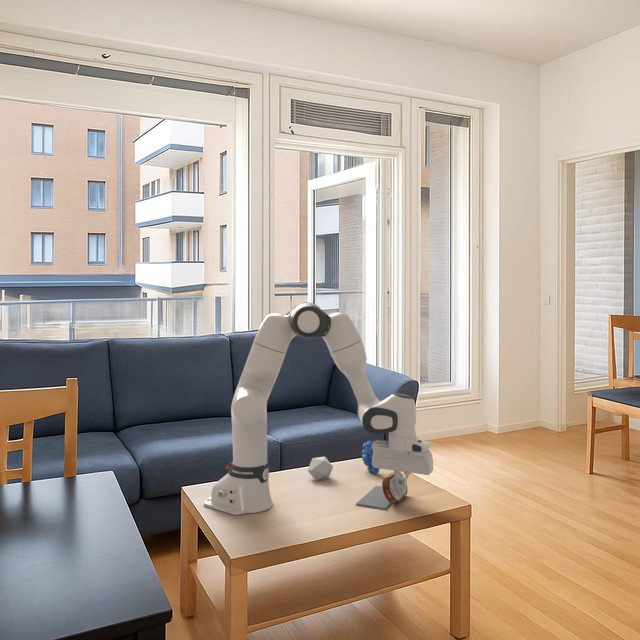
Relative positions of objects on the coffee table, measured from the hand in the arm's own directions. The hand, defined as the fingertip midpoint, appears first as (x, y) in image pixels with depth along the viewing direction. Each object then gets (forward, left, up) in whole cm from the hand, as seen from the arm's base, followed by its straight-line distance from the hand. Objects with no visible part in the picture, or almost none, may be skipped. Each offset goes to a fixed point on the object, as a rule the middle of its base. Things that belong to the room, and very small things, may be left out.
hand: (401, 484), depth 204 cm
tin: (0, 0, -5) cm, 5 cm away
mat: (-7, 0, -6) cm, 10 cm away
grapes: (-20, +24, -6) cm, 32 cm away
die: (-34, +10, -6) cm, 36 cm away
